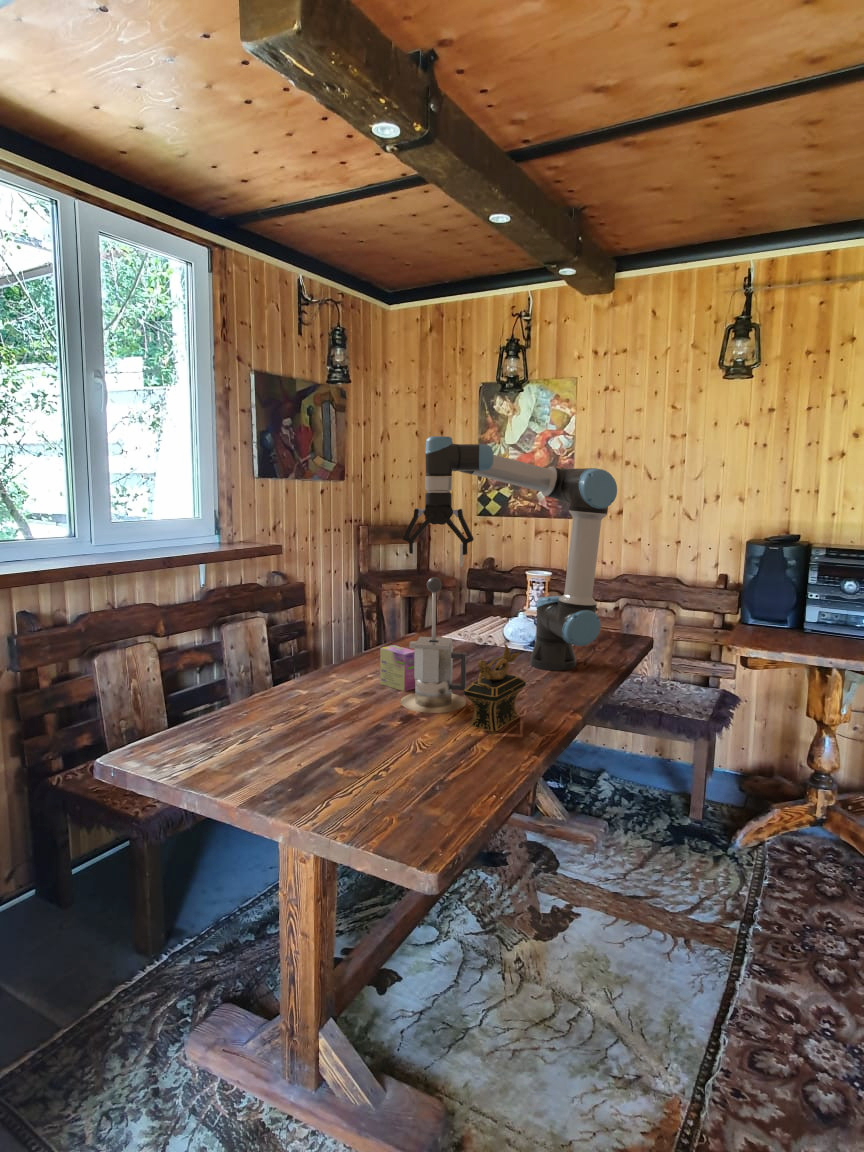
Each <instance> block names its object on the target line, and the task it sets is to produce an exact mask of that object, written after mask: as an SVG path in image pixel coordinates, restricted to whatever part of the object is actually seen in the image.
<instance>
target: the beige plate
mask: <svg viewBox="0 0 864 1152" xmlns="http://www.w3.org/2000/svg"><path fill="white" fill-rule="evenodd" d="M466 703H467V700H466V698H464V697H463V696H461V695H459V694H455V693H452V702H451V704H450V705H448V706H444V707H438V708H430V707H423V706H420V705H418V704H416V703H415V692H414V693H410V694H407V695H405V696H403V697H402V698H401V700H400V704H401V706H403V707H404V708H406V709H407V710H410V711H413V712H414V711H415V712H417V713H429V714H441V713H451V712H454V711H458V710H459V709H462V708H463V707H465V706H466Z"/></svg>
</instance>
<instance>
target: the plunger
mask: <svg viewBox="0 0 864 1152" xmlns="http://www.w3.org/2000/svg"><path fill="white" fill-rule="evenodd" d="M442 586H443V585H442V581H441V580H440V578H439V577H431V578H429V579H428V580H427V582H426V588H427V590H428V591H429V592H430V593H432V595H431V596H432V598H431V599H432V600H431V601H432V602H431V605H432V606H431V608H432V609H431V611H432V612H431V637H432V640H436V636H437V635H436V634H437V632H436V630H437V629H436V627H437V625H436V624H437V592H439V591H440V590H441V589H442Z"/></svg>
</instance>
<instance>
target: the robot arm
mask: <svg viewBox="0 0 864 1152" xmlns="http://www.w3.org/2000/svg"><path fill="white" fill-rule="evenodd" d="M425 441H426V442H425V452H424V454H425V455H424V456H425V477H424V478H425V479H424V481H425V483H424V484H425V485H424V486H425V487H424V488H425V491H427V492H426V493H425V494H424V495H425V496H424V497H425V499H424V500H425V501H424V509H421V508H418V507H417V508H415V509H414V510H413V516H412V519H411V521H410V522H409V525H408V526H407V528H406V531H405V533H404V535H403V536H402V541H406V542H408V552H409V554H410V555H412V567H416V566H417V564H418V561H417V560H418V559H417V558H418V553H417V552H418V547H417V546H418V544H417V543H418V542H417V541H416V542H415V540H417V538H418V537H419V536H420V535H421V534H422V533H423V531H424V530H425V529H426V528H427V527H428V525H429V524H431V525H432V526H433V525H445V524H447V526H448V527H449V528H450V529H451V531H453V533H454V534H455V535H456V536H457V538H458V540H460V541H461V542H462V543H460V544H459V567H460V568H463V566H464V556H467V554H468V543H473V541H474V540H475V539H474V536H473V534H472V531H471V530H470V527H469V526H468V524H467V523H468V522H467V521H466V520H465V518H464V511H463V509H462V508H458V509H453V506H452V501H453V500H452V499H453V498H452V497H453V496H452V494H453V493H451V492H450V491H452V490H453V483H452V482H453V481H452V480H453V472H459V473H465V474H467V475H472V476H477V477H481V478H484V479H485V478H486V479H489V480H493V481H496V482H501V483H503V484H504V483H505V484H508V485H513V486H516V487H521V488H525V489H529V490H533V491H537V492H541V494H542V496H544V497H548V498H551V499H554V500H557V501H559V502H563V503H565V504H568V512H569V514H570V515H571V516H572V521H571V523H572V524H571V529H570V530H571V533H570V540H569V549H568V558H567V565H566V575H565V576H566V577H565V583H564V584H565V585H564V592H563V593H564V594H563V595H554V596H553V595H551V596H550V595H549V596H541V597H539V598H538V599H537V601H536V602H537V604H536V607H535V608H536V630H535V631H536V632H535V635H536V636H535V637H536V638H535V643H534V645H533V649H532V651H531V653H530V658H529V664H530V665H531V666H532V667H534V668H536V669H541V670H547V671H567V670H572V669H575V668H576V667H577V657H576V653H575V651H574V646H575V647H585V646H588V645H590V644H591V643H592V642H593V641H595V640H596V639H597V638H598V636H599V634H600V632H601V628H602V624H601V619H600V618H599V615H598V614H597V613H596V612H597V605H598V604H597V601H596V600H595V599H594V598H593V593H594V586H595V578H596V571H597V570H596V569H597V561H598V552H599V544H600V536H601V527H602V520H603V519H604V518H605V517H607V516H608V510H609V507H610V506H611V505H612V503H614V502H615V500H616V499H617V494H618V486H617V485H618V484H617V482H616V479H615V478H614V477H613V475H612V474H611V473H610V472H609V471H607V470H605V469H602V468H596V467H594V468H591V467H590V468H578V467H577V468H561V467H556V466H549V467H548V468H547V467H543V466H539V465H534V464H531V463H527V462H525V461H524V462H523V461H520V460H516V459H513V458H512V459H511V458H507V457H504V456H500V455H497V454H494V451H493V448H492V446H491V445H489V444H481V443H479V444H476V443H475V444H473V443H471V444H469V443H465V444H463V443H461V444H460V443H458V444H457V443H454V442H453V438H452V437H451V436H444V435H438V436H429V437H427V438H426V440H425ZM422 515H424V517H425V518H426V519H425V521H424V522H423V523H422V524H421V525H420V527H419V528H417V530H416V531H415V532H414V533H413V534H412V536H411V537H410V535H411V533H412V532H413V530H414V528H415V525H416V524H417V522H418V519H419V517H421V516H422ZM453 515H455V517H456V518H458V520H459V522H460V525H461V526H462V529H463V531H464V533H465V535H466V537H467V538H466V537H465V535H464V534H463V533H462V532H461V530H459V527H457V526H456V525H455V523H454V522H453V520H452V519H451V517H452V516H453Z"/></svg>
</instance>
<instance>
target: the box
mask: <svg viewBox="0 0 864 1152" xmlns="http://www.w3.org/2000/svg"><path fill="white" fill-rule="evenodd" d="M379 654H380V657H379V658H380V666H379V670H380V673H379V678H380V680H379V683H380V685H383V686H385V687H389V688H392V689H396V690H398V691H402V692H406V691H411V690H413V689H414V690H415V678H414V649H412V648H407V647H402V646H399V645H395V644H393V645H388V646H387V645H386V646H383V647H380V653H379Z"/></svg>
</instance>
